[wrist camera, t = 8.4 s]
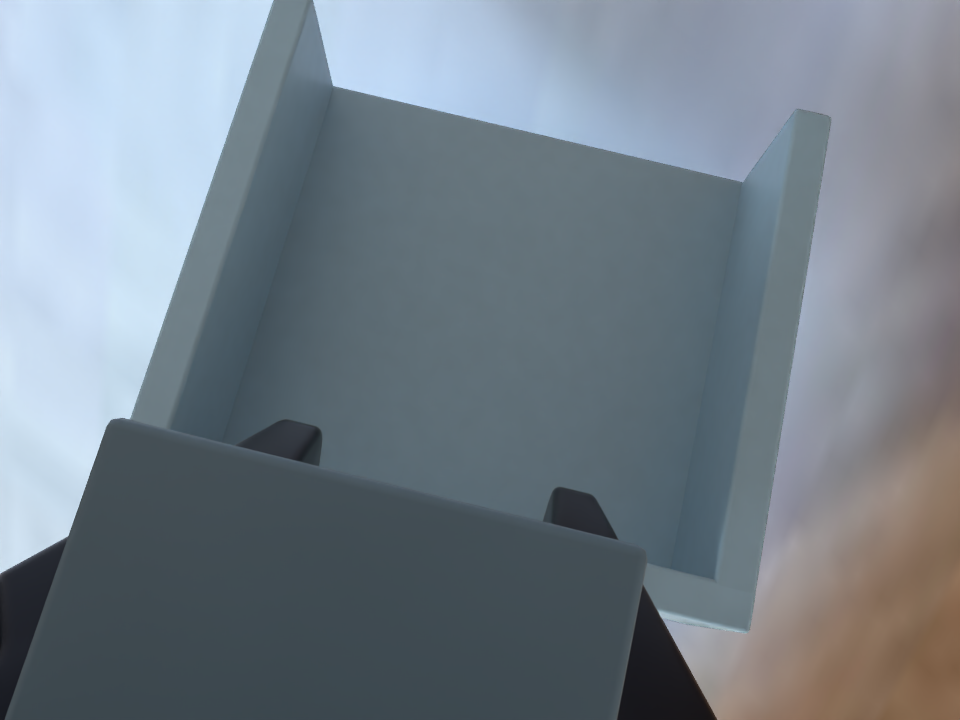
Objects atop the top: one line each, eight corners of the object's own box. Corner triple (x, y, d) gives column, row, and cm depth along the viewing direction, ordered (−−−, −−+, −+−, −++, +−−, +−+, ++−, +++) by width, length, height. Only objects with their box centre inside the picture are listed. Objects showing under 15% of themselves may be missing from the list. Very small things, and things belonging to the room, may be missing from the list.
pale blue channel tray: (672, 724, 15) (1440, 1191, 3) (146, 591, 15) (-833, 603, 4) (765, 199, 17) (1408, -594, 6) (307, 91, 18) (30, -879, 6)
